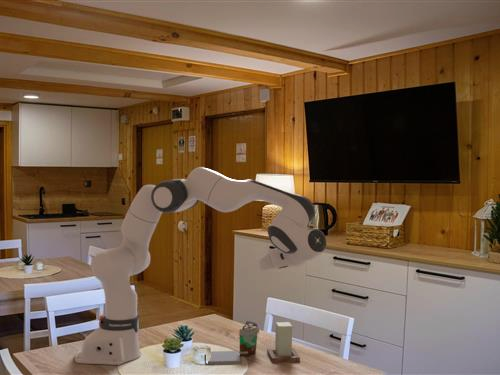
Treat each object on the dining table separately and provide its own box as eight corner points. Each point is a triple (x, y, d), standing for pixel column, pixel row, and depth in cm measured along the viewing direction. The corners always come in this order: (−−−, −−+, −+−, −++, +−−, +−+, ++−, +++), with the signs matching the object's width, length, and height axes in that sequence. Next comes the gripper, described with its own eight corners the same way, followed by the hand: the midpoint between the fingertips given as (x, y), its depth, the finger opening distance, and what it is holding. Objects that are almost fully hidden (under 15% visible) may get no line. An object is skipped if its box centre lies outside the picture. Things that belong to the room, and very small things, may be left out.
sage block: (277, 359, 181) (278, 326, 181) (275, 355, 186) (275, 322, 186) (291, 359, 182) (292, 326, 182) (288, 354, 187) (289, 322, 187)
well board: (272, 362, 179) (272, 358, 179) (267, 352, 189) (267, 348, 188) (299, 361, 180) (300, 357, 180) (293, 352, 190) (293, 348, 190)
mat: (206, 364, 175) (206, 361, 175) (204, 354, 185) (204, 351, 185) (241, 363, 177) (241, 360, 177) (237, 353, 187) (237, 350, 187)
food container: (255, 358, 182) (256, 331, 182) (238, 357, 183) (239, 329, 183) (261, 347, 194) (262, 321, 194) (245, 346, 195) (246, 320, 195)
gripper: (318, 237, 174) (301, 248, 186) (266, 250, 165) (251, 260, 177) (325, 255, 172) (307, 264, 184) (272, 269, 164) (257, 278, 176)
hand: (279, 262), depth 181 cm, fingers open, 8 cm apart
